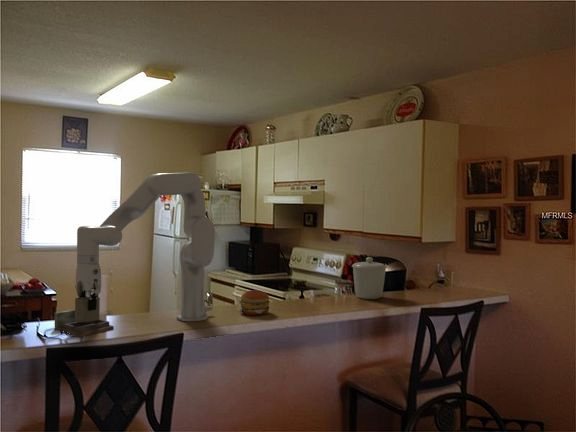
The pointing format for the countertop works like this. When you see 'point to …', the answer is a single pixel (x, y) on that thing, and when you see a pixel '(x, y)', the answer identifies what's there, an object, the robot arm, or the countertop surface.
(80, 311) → the padlock
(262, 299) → the burger
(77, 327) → the open hinged box
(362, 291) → the canister
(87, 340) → the countertop surface
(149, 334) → the countertop surface
